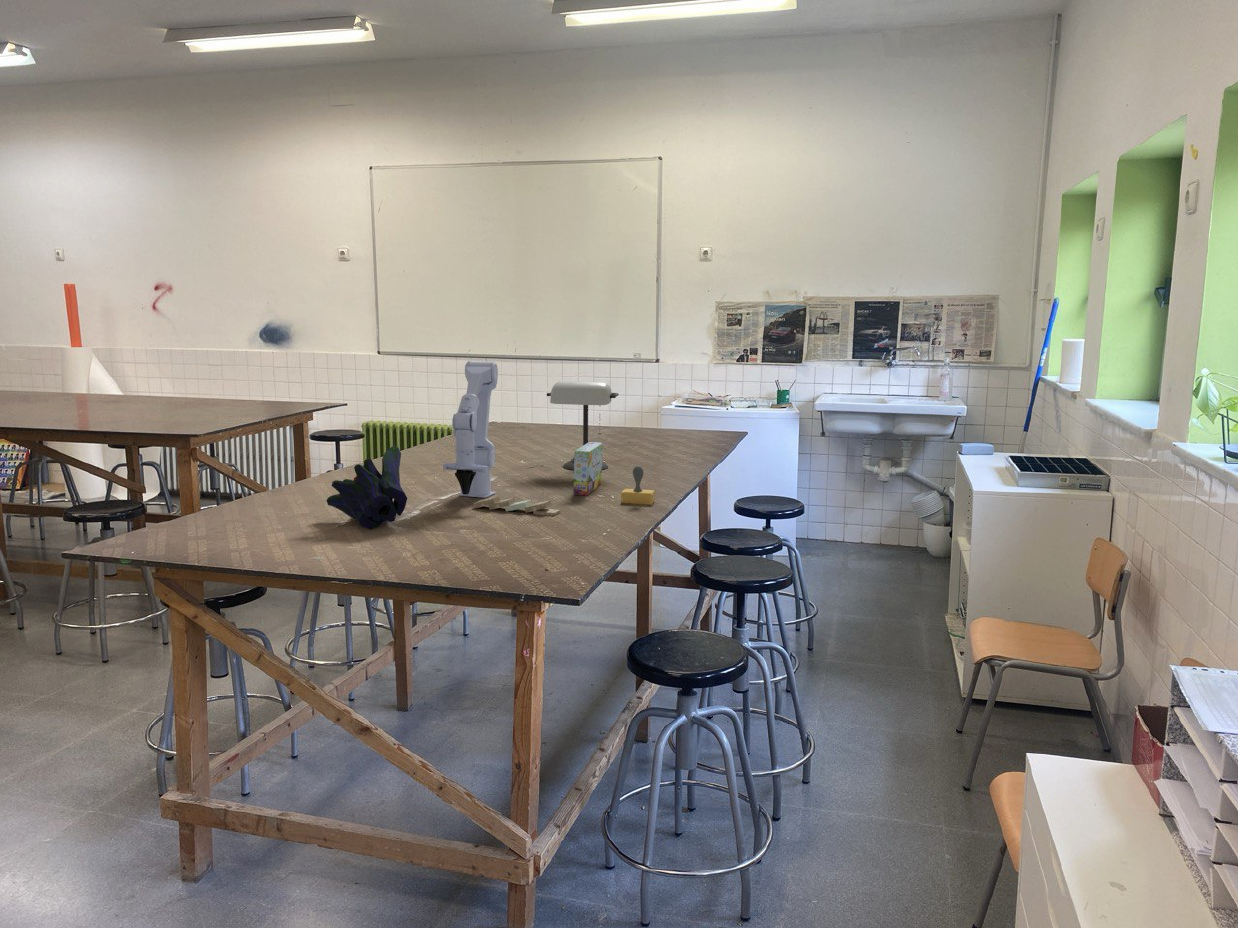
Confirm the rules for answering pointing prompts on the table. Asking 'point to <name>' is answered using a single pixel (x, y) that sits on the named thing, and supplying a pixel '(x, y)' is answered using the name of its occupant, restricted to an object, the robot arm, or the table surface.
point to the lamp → (582, 402)
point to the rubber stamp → (637, 491)
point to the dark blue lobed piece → (372, 492)
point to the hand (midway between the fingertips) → (465, 493)
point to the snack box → (587, 468)
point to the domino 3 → (518, 505)
